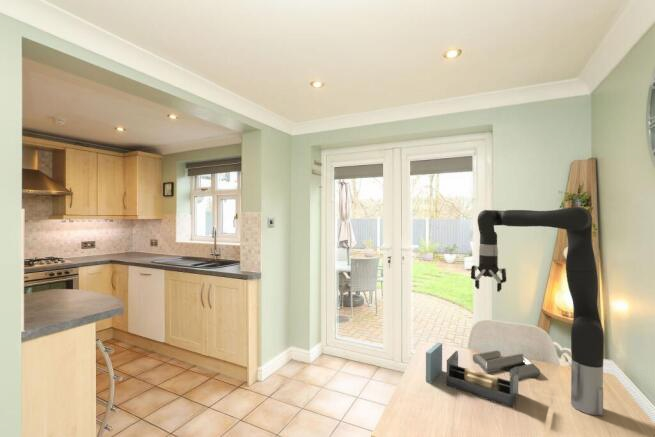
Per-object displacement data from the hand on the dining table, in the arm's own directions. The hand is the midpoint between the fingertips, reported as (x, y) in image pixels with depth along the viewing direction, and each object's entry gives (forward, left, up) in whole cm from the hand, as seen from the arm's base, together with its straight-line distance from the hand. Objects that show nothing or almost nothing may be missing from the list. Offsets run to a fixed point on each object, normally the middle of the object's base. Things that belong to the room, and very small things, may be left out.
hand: (488, 290), depth 146 cm
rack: (-2, +19, -38) cm, 43 cm away
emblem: (-5, -11, -39) cm, 41 cm away
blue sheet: (+17, +20, -38) cm, 46 cm away
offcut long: (-2, +20, -37) cm, 42 cm away
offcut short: (-2, +23, -37) cm, 43 cm away
